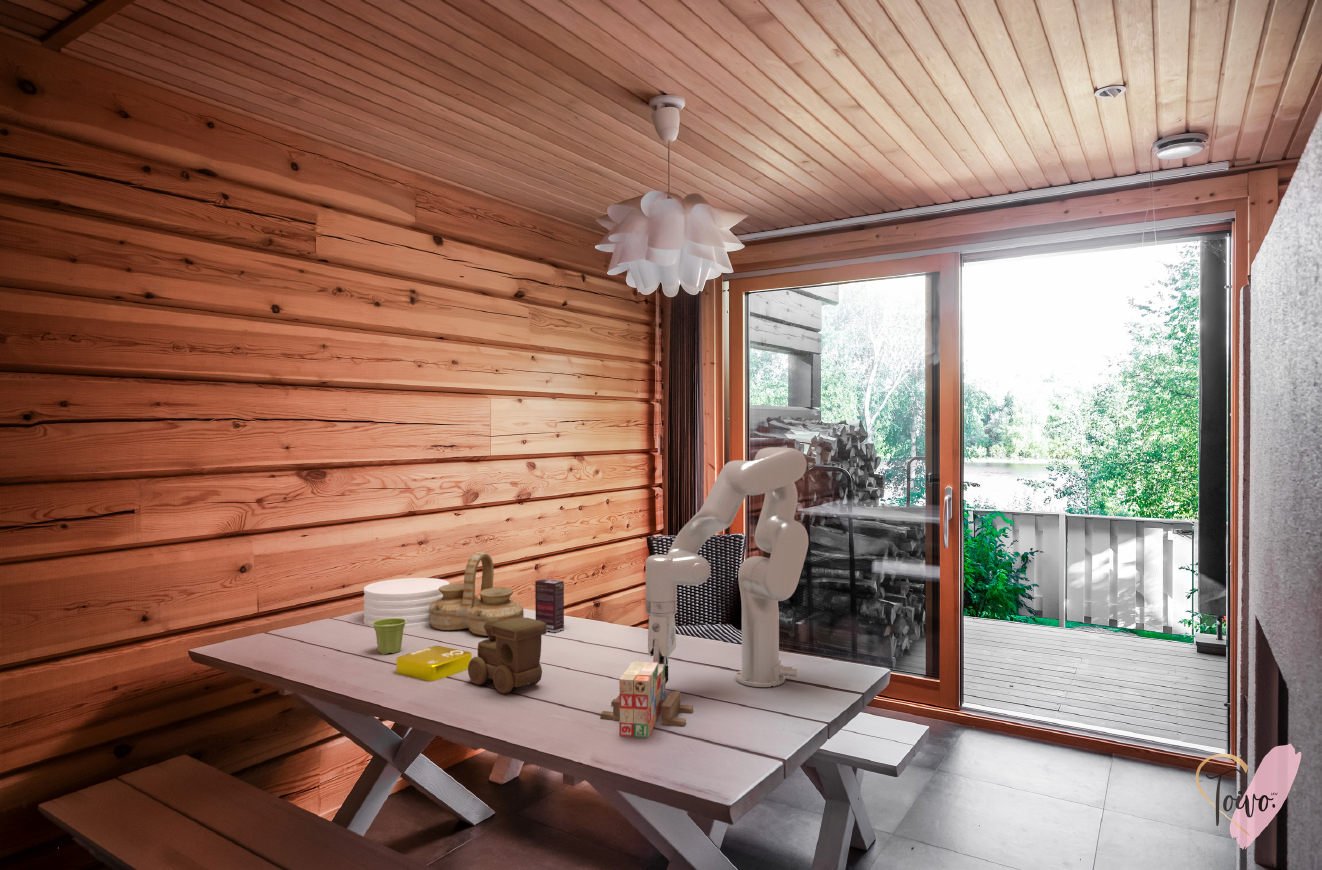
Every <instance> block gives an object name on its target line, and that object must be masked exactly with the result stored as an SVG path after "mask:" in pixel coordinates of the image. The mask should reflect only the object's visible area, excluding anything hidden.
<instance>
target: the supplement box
mask: <svg viewBox="0 0 1322 870" xmlns="http://www.w3.org/2000/svg"><path fill="white" fill-rule="evenodd" d="M564 582H565V581H564V580H556V579H547V578H542V579H541V578H540V579H538V580H535V584H534V585H535V587H534V590H535V591H534V592H535V593H534V594H535V595H534V597H535V604H534V605H535V620H539V621H542V622H544V623H546V632H548V631H550V632H549V633H554V632H556V633H559V632H561V631H560V630H562V631H564V630H565V592H564V591H565V589H564V588H565V583H564ZM558 631H559V632H558Z"/></svg>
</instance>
